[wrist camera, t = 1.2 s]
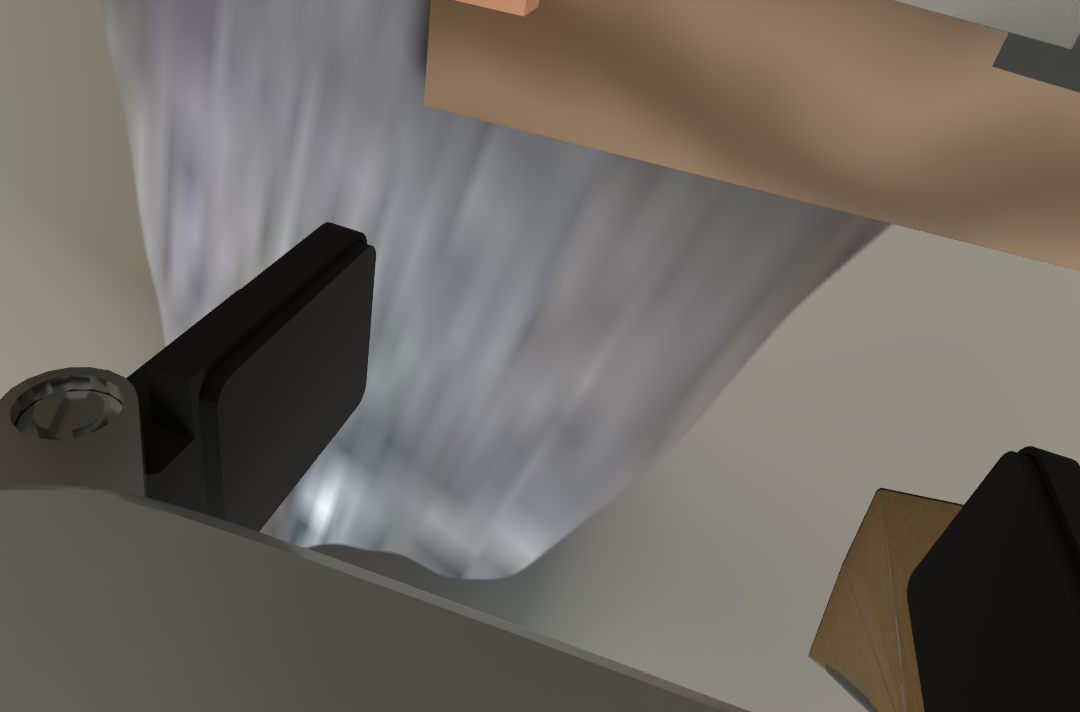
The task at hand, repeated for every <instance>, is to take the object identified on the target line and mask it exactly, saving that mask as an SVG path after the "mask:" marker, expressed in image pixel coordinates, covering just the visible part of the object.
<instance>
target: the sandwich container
mask: <svg viewBox="0 0 1080 712" xmlns="http://www.w3.org/2000/svg"><path fill="white" fill-rule="evenodd" d="M963 506H964V505H963V504H958V503H953V502H948V501H944V500H939V499H933V498H929V497H924V496H919V495H914V494H909V493H905V492H900V491H894V490H890V489H885V488H879V489H878V490H877V491H876V493H875V495H874V497H873V500H872V501H871V504H870V506H869V508H868V510H867V512H866V514H865V516H864V519H863V521H862V523H861V525H860V527H859V529H858V532H857V534H856V536H855V538H854V540H853V542H852V545H851V546H850V549H849V551H848V553H847V555H846V557H845V559H844V561H843V563H842V566H841V569H840V572H839V575H838V577H837V580H836V583H835V585H834V588H833V591H832V593H831V596H830V598H829V601H828V604H827V607H826V609H825V612H824V614H823V617H822V620H821V622H820V625H819V628H818V630H817V633H816V636H815V639H814V641H813V644H812V646H811V649H810V652H809V655H808V657H810V658H811V659H812V660H813V661H814V662H816V663H817V664H818V665H819V666H820V667H821V668H822V669H824V670H825V671H826V672H827V673H828V674H829V675H830V676H831V677H832V678H833V679H834V680H835V681H837V683H839V684H840V685H841V686H842V687H843V688H844V689H845V690H846V691H847V692H848V693H849V694H850V695H851V696H852V697H853V698H854V699H855V700H856V701H857V702H858V703H860V704H861V705H862V706H863V707H864V708H865V709H866V710H867V711H868V712H924V705H923V699H922V692H921V686H920V679H919V673H918V667H917V660H916V654H915V647H914V641H913V634H912V628H911V621H910V615H909V608H908V602H907V585H908V582H909V579H910V576H911V574H912V572H913V571H914V569H915V568H916V567H917V565H918V564H919V563H920V562H921V560H922V559H923V558H924V556H925V555H926V554H927V553H928V551H929V550H930V549H931V547H932V546H933V545H934V543H935V542H936V541H937V540H938V538H939V537H940V536H941V534H942V533H943V532H944V530H945V529H946V528H947V527H948V525H949V524H950V523H951V521H952V520H953V519H954V517H955V516H956V515H957V514H958V512H959V511H960V510H961V508H962V507H963Z"/></svg>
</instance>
